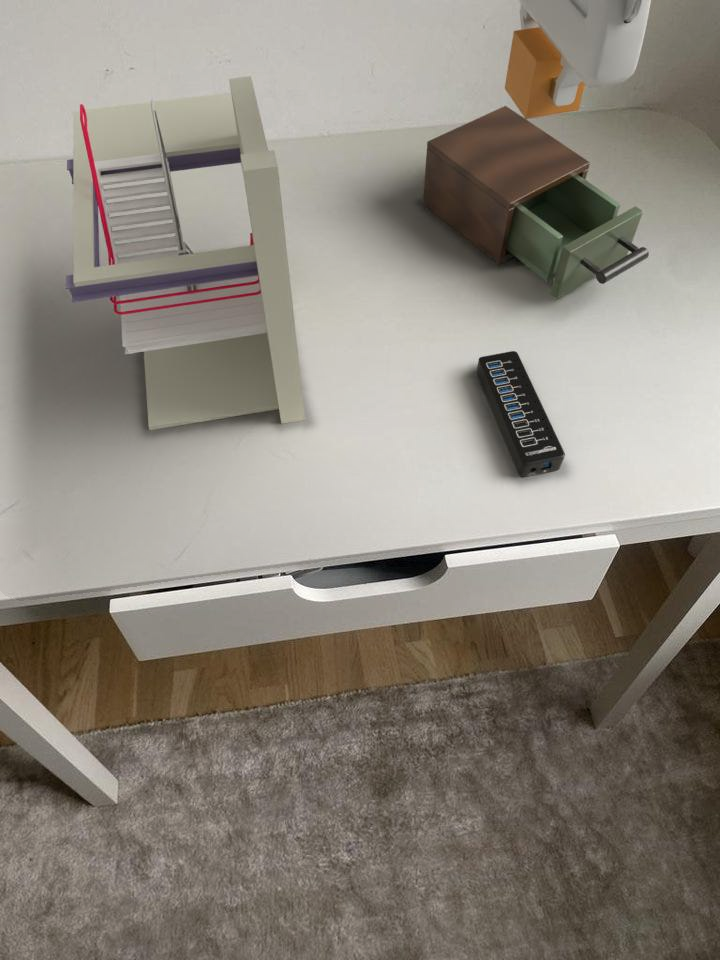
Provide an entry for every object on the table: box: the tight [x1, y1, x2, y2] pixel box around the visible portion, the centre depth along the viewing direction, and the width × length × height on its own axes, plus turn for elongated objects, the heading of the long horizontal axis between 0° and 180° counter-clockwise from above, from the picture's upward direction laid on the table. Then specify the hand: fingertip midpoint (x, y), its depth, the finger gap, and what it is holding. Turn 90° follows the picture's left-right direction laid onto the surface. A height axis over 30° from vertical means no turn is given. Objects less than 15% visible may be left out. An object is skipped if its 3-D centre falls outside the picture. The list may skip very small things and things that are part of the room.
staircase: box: [65, 75, 306, 431], centre depth 74 cm, size 27×18×30 cm
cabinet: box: [422, 105, 591, 265], centre depth 95 cm, size 15×13×9 cm
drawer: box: [506, 174, 650, 300], centre depth 90 cm, size 18×12×7 cm, turn 36°
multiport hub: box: [475, 350, 566, 478], centre depth 79 cm, size 4×14×2 cm, turn 13°
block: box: [504, 27, 586, 120], centre depth 65 cm, size 5×5×5 cm
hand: (545, 80), depth 66 cm, fingers closed on block, 5 cm apart
